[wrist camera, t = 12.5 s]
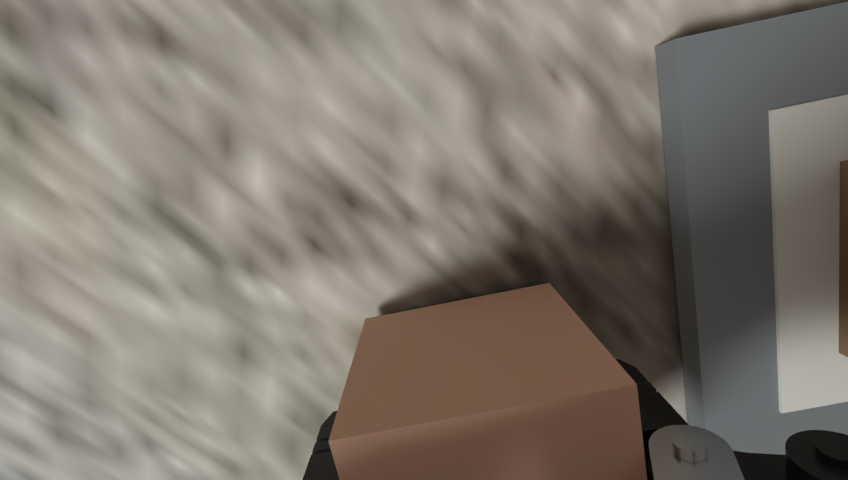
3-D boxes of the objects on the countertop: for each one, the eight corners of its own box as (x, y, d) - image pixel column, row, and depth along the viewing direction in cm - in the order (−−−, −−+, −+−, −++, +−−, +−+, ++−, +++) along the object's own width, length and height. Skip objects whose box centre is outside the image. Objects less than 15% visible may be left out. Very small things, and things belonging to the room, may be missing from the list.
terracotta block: (365, 318, 12) (328, 440, 7) (549, 283, 12) (636, 384, 7) (404, 474, 13) (395, 670, 8) (573, 443, 13) (662, 626, 8)
